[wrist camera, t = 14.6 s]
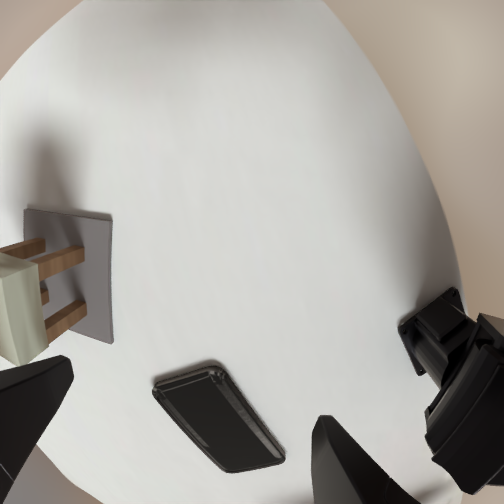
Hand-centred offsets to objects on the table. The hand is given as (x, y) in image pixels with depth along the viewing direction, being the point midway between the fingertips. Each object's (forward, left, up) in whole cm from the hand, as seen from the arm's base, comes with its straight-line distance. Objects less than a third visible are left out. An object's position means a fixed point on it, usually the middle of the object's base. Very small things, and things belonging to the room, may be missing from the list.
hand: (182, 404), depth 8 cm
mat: (+9, +13, -13) cm, 20 cm away
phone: (-12, +10, -14) cm, 21 cm away
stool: (+9, +13, -12) cm, 20 cm away
